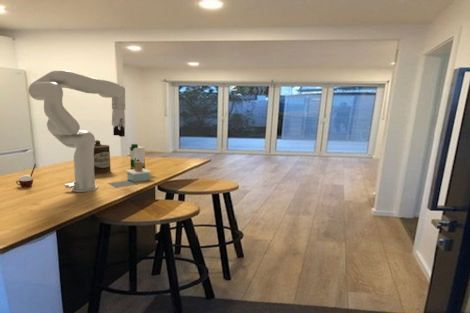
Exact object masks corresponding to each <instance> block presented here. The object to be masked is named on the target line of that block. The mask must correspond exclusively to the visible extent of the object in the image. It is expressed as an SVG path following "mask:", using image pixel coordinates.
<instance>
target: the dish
mask: <svg viewBox="0 0 470 313" xmlns="http://www.w3.org/2000/svg"><path fill="white" fill-rule="evenodd" d="M126 175H127V180H130V181H132V182H134V183H137V182H144V181H149V180H150V179H151V176H150V175H151V173H144V174H136V175H132V174H130V173H127V172H126Z"/></svg>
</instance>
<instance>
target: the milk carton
mask: <svg viewBox="0 0 470 313" xmlns="http://www.w3.org/2000/svg"><path fill="white" fill-rule="evenodd" d="M129 154H130V155H129V156H130V158H129V159H130V170H131V169H134V162H137V161H140V162H142V168H144V169H146V165H145V164H146V161H145V160H146V157H145V155H146V147H145V146H138V144H137V143H131V145H130V146H129Z"/></svg>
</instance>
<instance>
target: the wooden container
mask: <svg viewBox="0 0 470 313" xmlns="http://www.w3.org/2000/svg"><path fill="white" fill-rule="evenodd" d="M110 172H111V151H110V145H109V144H102V143H101V141H100V140H98V139H95V145H94V173H95V175H104V174H109V173H110Z"/></svg>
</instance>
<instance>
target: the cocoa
mask: <svg viewBox="0 0 470 313" xmlns="http://www.w3.org/2000/svg"><path fill="white" fill-rule="evenodd" d="M36 165H37V164H34V165H33V168H32V171H31V174H30V175H28V174H23V175H21V176H20V177H19V180H16V182H15V183H16V184H17V185H18V186H20V187H23V188H29V187H31V186H32V185H33V182H34V177H33V174H34V171H35V168H36Z"/></svg>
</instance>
